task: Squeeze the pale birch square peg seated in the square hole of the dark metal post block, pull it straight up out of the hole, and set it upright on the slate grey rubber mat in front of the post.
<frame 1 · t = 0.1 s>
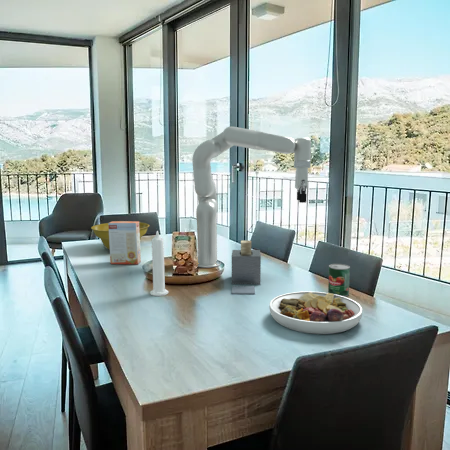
hand: (301, 201, 214), 31 cm above the table, tool pointing down, fingers open, 9 cm apart
canned tomato: (338, 294, 177), on the table
peg: (246, 264, 194), point 7 cm above the table, touching post block
cracker box: (125, 263, 226), on the table
post block: (246, 280, 195), on the table
planter bowl: (121, 249, 258), on the table
candle: (159, 293, 178), on the table
bowl: (314, 320, 151), on the table
mat: (243, 290, 181), on the table
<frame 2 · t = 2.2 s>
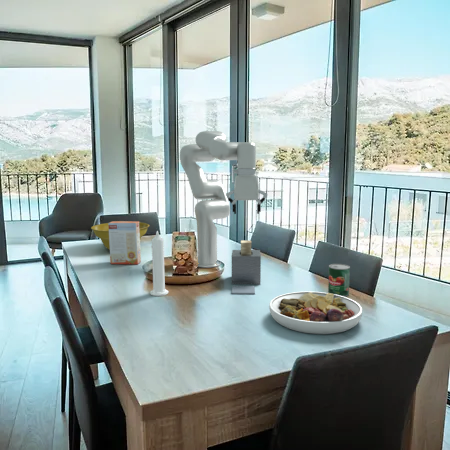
hand: (246, 213, 190), 29 cm above the table, tool pointing down, fingers open, 9 cm apart
nothing on the table moved.
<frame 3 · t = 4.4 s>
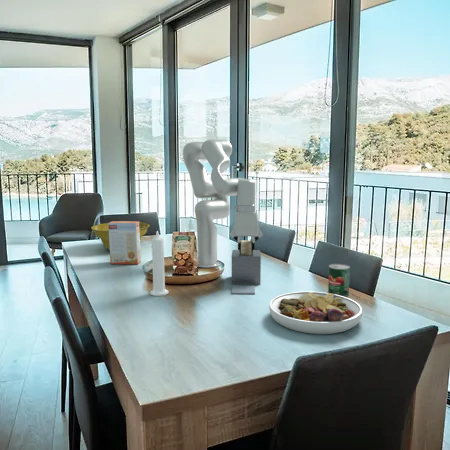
hand: (246, 251, 193), 13 cm above the table, tool pointing down, fingers closed on peg, 4 cm apart
peg: (246, 264, 194), point 7 cm above the table, touching gripper, post block
everything else where it was.
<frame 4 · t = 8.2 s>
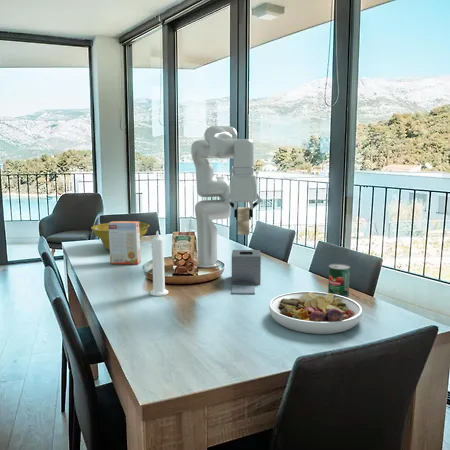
hand: (243, 218, 176), 29 cm above the table, tool pointing down, fingers closed on peg, 4 cm apart
peg: (243, 233, 177), point 23 cm above the table, touching gripper
everything else where it was.
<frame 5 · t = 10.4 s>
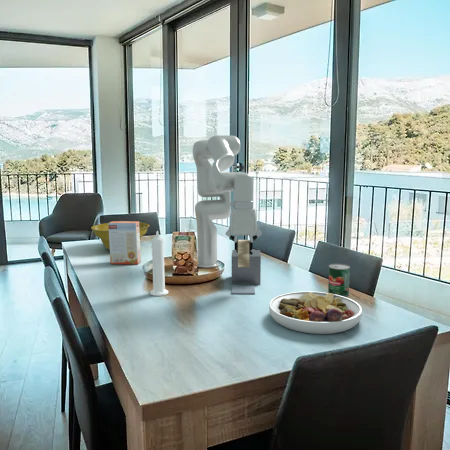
hand: (243, 251, 178), 16 cm above the table, tool pointing down, fingers closed on peg, 4 cm apart
peg: (243, 265, 179), point 10 cm above the table, touching gripper
everything else where it was.
when the fingers open (8 cm above the table, at t = 12.3 s): peg drops 2 cm, resting on mat.
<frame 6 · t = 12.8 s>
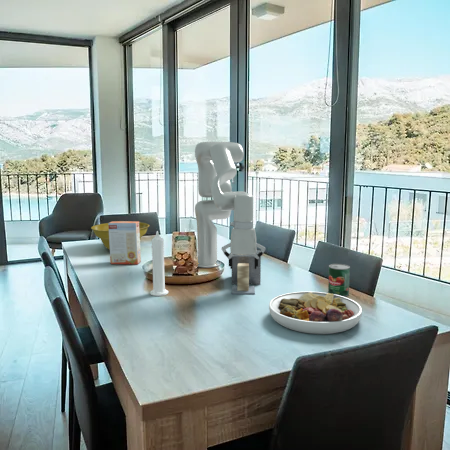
hand: (243, 268, 180), 9 cm above the table, tool pointing down, fingers open, 9 cm apart
peg: (243, 289, 181), point 1 cm above the table, touching mat
everything else where it was.
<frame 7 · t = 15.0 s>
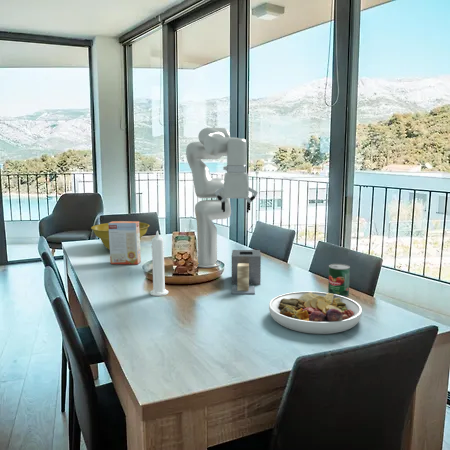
hand: (235, 211, 185), 31 cm above the table, tool pointing down, fingers open, 9 cm apart
nothing on the table moved.
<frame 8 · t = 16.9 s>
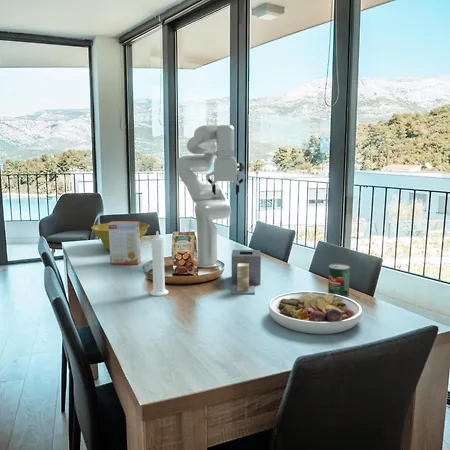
hand: (225, 194, 198), 36 cm above the table, tool pointing down, fingers open, 9 cm apart
nothing on the table moved.
at the end: peg inside the target area on the mat (0.1 cm from its centre), point 0.6 cm above the mat's base; peg tilted 0°; the gripper is holding nothing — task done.
